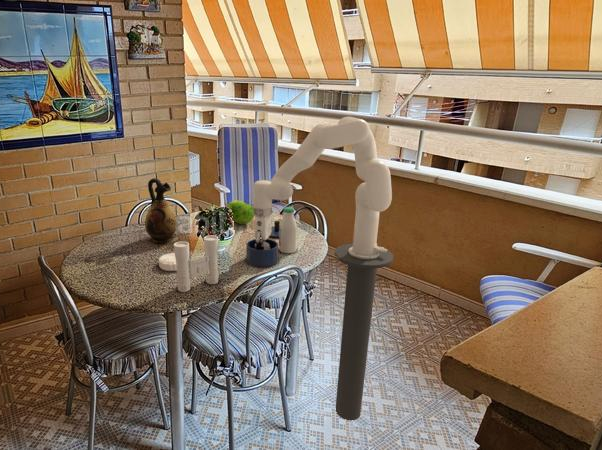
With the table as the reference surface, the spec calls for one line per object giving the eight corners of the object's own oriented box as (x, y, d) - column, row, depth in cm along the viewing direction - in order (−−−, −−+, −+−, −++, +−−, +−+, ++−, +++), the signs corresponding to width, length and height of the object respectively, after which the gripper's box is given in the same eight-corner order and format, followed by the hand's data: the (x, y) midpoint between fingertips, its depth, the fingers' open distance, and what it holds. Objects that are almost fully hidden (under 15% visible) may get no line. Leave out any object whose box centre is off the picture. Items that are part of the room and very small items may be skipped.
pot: (280, 256, 177) (281, 240, 175) (273, 269, 166) (273, 252, 163) (251, 252, 182) (251, 237, 179) (242, 264, 170) (242, 248, 168)
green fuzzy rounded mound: (240, 214, 234) (240, 195, 230) (260, 226, 214) (260, 205, 210) (220, 218, 229) (219, 198, 225) (238, 230, 209) (237, 208, 205)
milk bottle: (299, 250, 184) (301, 207, 177) (289, 255, 178) (290, 211, 172) (285, 245, 189) (286, 204, 182) (275, 250, 184) (276, 208, 177)
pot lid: (293, 230, 208) (294, 218, 206) (287, 239, 196) (288, 227, 194) (266, 227, 213) (267, 215, 211) (259, 236, 201) (259, 224, 199)
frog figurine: (251, 254, 174) (251, 239, 172) (264, 251, 177) (264, 236, 175) (259, 259, 169) (259, 244, 167) (273, 256, 172) (273, 240, 170)
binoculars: (180, 293, 148) (177, 248, 142) (174, 287, 153) (171, 243, 147) (221, 282, 156) (220, 238, 150) (215, 276, 160) (214, 234, 154)
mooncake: (153, 266, 171) (152, 258, 170) (174, 256, 179) (173, 249, 178) (173, 274, 164) (172, 265, 162) (193, 263, 172) (193, 256, 171)
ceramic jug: (184, 237, 202) (180, 177, 192) (164, 247, 190) (159, 184, 180) (157, 231, 211) (153, 174, 201) (137, 241, 198) (131, 180, 188)
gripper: (265, 218, 158) (265, 260, 163) (276, 205, 173) (276, 245, 179) (247, 216, 160) (247, 258, 166) (259, 204, 175) (259, 243, 181)
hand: (262, 251), depth 172 cm, fingers closed on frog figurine, 6 cm apart
